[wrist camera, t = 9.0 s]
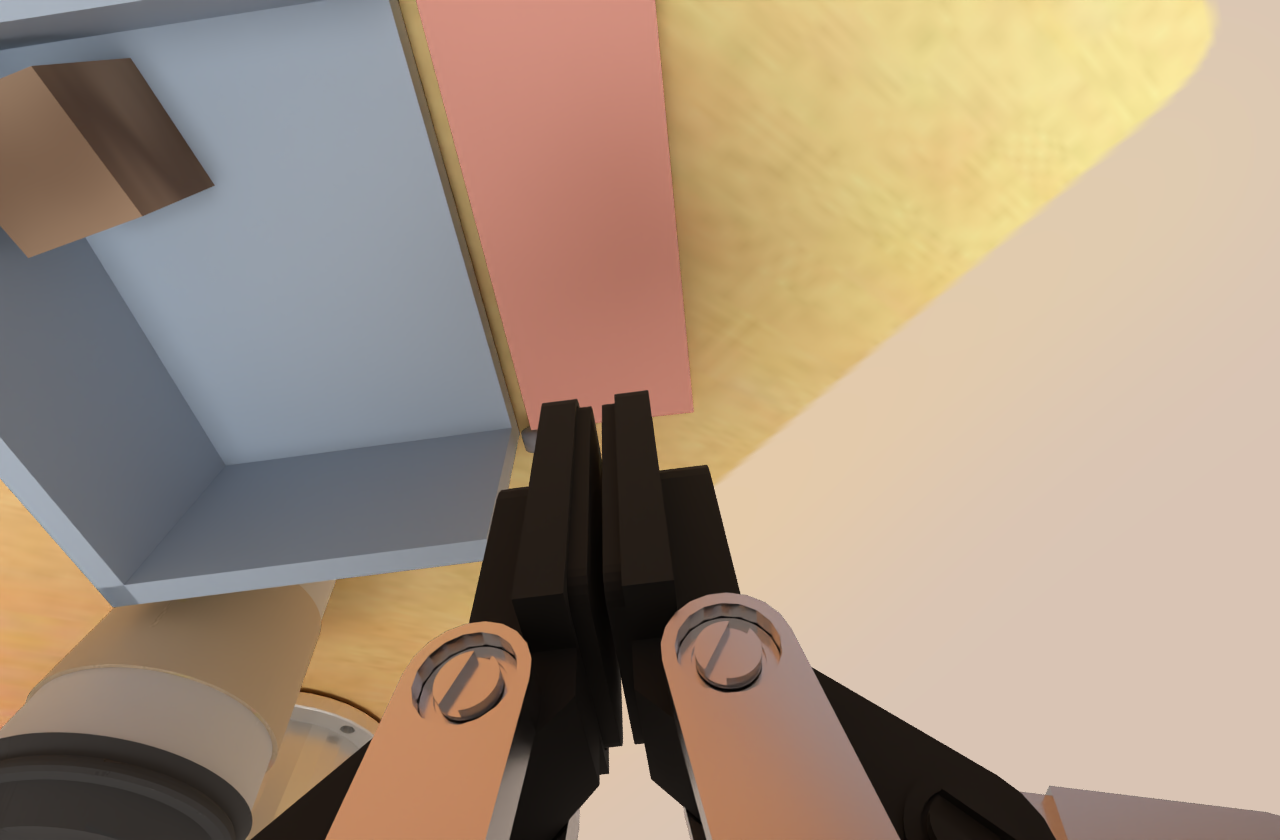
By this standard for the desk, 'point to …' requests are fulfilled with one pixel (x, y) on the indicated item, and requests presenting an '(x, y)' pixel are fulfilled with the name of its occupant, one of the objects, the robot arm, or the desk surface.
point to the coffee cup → (161, 719)
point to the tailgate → (570, 191)
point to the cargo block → (86, 152)
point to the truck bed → (256, 317)
